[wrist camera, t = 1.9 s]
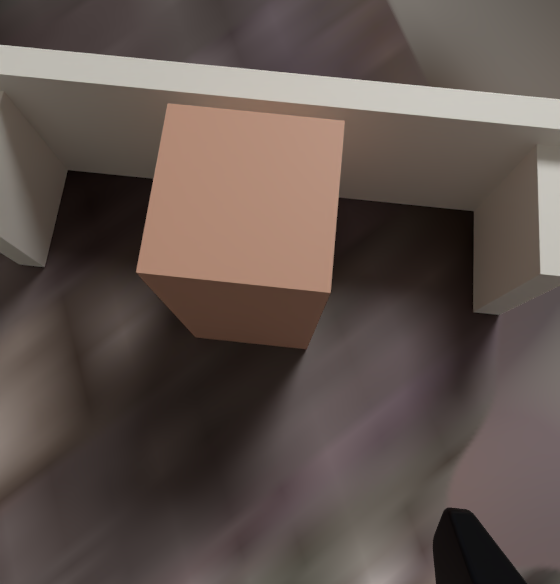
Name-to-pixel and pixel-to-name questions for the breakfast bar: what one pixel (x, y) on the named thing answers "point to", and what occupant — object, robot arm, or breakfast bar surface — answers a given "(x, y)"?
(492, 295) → the bay
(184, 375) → the breakfast bar surface
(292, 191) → the block
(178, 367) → the breakfast bar surface
